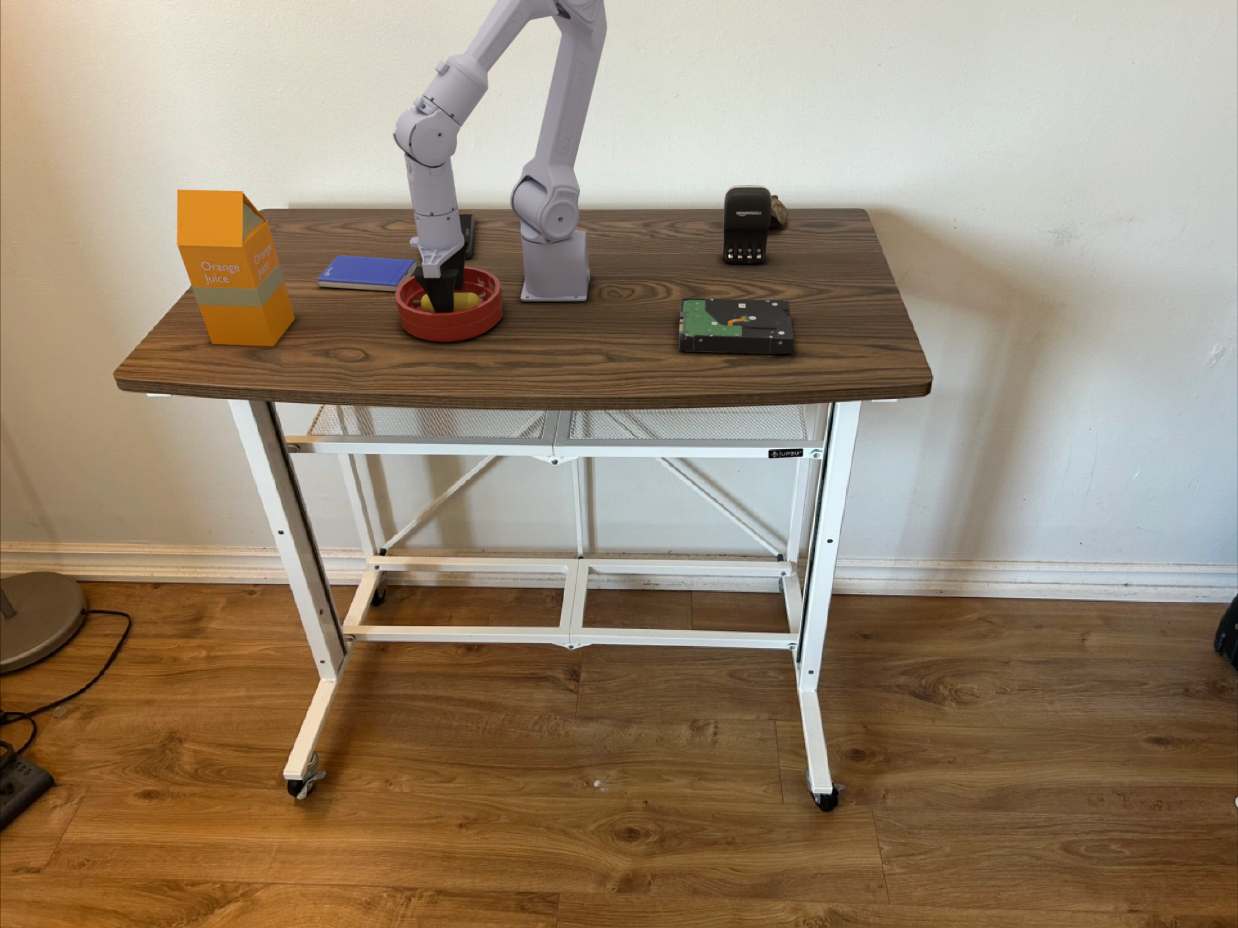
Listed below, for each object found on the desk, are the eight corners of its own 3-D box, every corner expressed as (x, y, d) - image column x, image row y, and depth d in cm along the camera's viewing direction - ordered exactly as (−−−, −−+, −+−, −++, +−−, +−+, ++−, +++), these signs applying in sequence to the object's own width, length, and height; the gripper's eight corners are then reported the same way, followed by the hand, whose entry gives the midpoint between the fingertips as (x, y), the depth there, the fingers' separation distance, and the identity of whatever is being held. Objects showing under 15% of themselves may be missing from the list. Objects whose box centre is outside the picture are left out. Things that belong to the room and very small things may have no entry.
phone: (420, 255, 138) (428, 215, 149) (421, 261, 138) (429, 222, 150) (471, 252, 138) (475, 213, 150) (472, 258, 139) (475, 219, 151)
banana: (483, 311, 125) (482, 290, 124) (479, 316, 123) (478, 294, 121) (417, 312, 126) (415, 290, 125) (412, 316, 123) (409, 295, 122)
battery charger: (721, 266, 135) (725, 194, 128) (720, 255, 138) (724, 184, 131) (767, 267, 135) (774, 194, 128) (765, 255, 138) (772, 184, 131)
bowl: (509, 294, 130) (506, 265, 127) (495, 344, 119) (492, 314, 116) (413, 294, 130) (408, 266, 127) (390, 344, 119) (384, 315, 116)
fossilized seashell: (783, 199, 149) (724, 210, 150) (784, 174, 143) (722, 186, 144) (792, 237, 146) (731, 248, 147) (793, 213, 140) (730, 225, 141)
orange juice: (236, 316, 126) (191, 177, 114) (295, 318, 125) (257, 179, 113) (210, 344, 120) (160, 202, 108) (273, 347, 119) (230, 203, 107)
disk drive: (786, 317, 123) (679, 314, 124) (789, 299, 121) (680, 296, 122) (792, 357, 115) (677, 353, 116) (795, 338, 113) (678, 334, 114)
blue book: (317, 278, 132) (396, 283, 130) (339, 253, 138) (415, 258, 136) (319, 287, 133) (398, 293, 131) (341, 263, 139) (417, 268, 137)
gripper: (416, 186, 120) (431, 277, 129) (391, 231, 109) (410, 328, 117) (468, 185, 120) (480, 277, 128) (448, 230, 109) (463, 328, 117)
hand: (450, 301), depth 123 cm, fingers open, 7 cm apart
